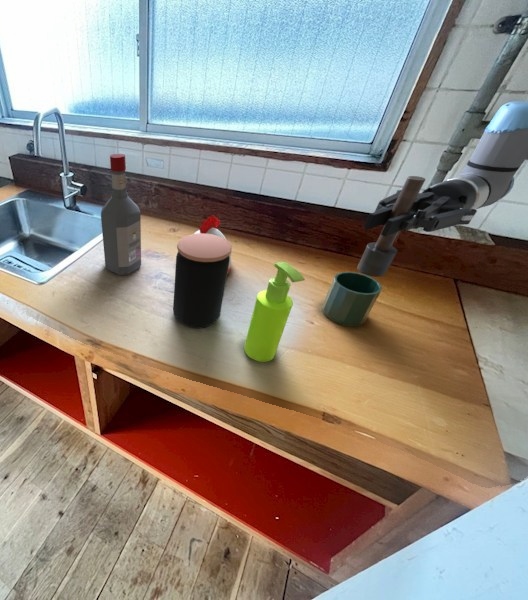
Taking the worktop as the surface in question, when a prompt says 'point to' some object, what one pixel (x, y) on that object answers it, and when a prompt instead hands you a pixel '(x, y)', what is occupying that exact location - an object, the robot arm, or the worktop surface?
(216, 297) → the coffee jar
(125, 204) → the liquor
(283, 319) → the soap dispenser
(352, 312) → the teal faceted cup
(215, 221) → the kitchen timer
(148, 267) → the worktop surface
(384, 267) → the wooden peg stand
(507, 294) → the worktop surface
